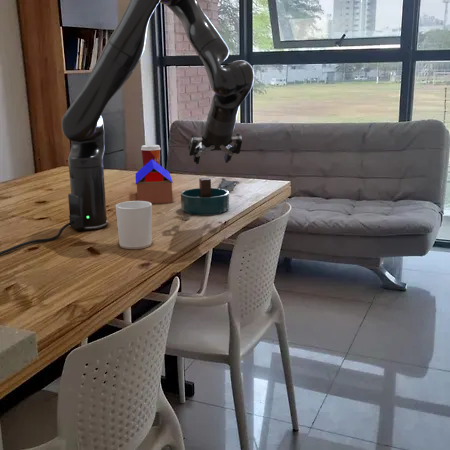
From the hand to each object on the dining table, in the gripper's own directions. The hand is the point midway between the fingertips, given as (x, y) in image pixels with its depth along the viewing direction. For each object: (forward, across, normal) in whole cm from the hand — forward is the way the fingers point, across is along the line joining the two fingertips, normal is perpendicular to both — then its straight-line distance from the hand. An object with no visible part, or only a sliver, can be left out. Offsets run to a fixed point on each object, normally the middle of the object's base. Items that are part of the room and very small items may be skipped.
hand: (211, 160), depth 168 cm
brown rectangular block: (+21, -1, +3) cm, 21 cm away
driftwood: (+44, -17, -20) cm, 51 cm away
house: (+38, +12, -13) cm, 42 cm away
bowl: (+21, -1, +3) cm, 21 cm away
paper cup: (+58, +9, -33) cm, 68 cm away
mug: (0, +24, +25) cm, 35 cm away
